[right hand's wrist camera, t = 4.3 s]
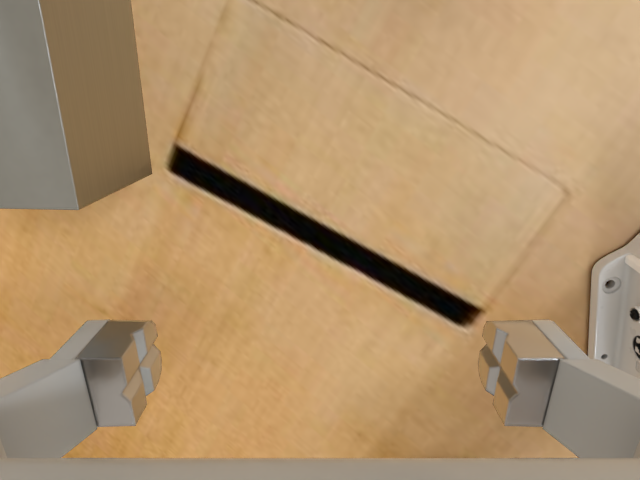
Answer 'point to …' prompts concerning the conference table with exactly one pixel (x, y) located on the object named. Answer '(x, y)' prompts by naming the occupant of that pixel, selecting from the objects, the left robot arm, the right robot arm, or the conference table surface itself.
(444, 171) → the conference table surface
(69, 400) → the right robot arm
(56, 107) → the bar
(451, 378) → the conference table surface
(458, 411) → the conference table surface
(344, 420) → the conference table surface
